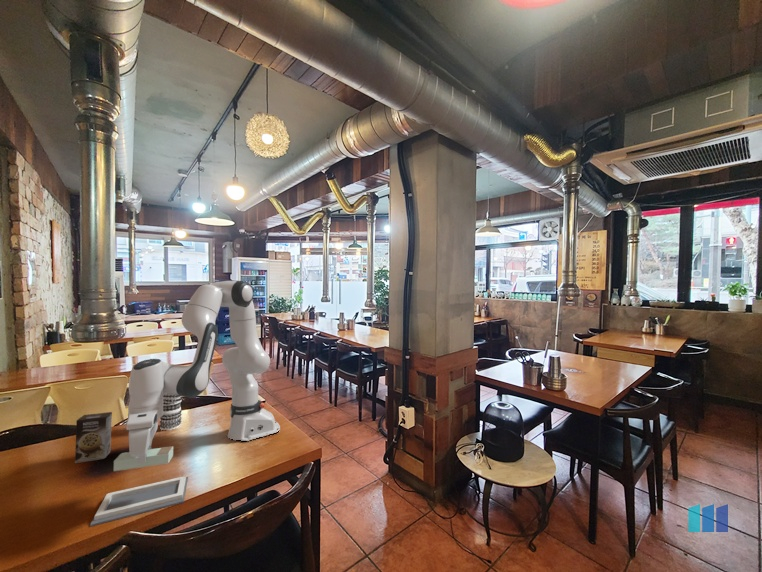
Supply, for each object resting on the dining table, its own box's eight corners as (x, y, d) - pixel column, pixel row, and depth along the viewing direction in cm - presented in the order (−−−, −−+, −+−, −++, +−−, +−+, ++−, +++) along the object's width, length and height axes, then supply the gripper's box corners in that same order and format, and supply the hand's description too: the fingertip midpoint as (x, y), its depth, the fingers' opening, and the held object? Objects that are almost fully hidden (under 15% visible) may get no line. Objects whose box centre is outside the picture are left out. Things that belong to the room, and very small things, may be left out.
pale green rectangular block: (121, 462, 98) (121, 452, 98) (173, 455, 102) (173, 445, 102) (113, 471, 93) (113, 460, 93) (168, 463, 98) (168, 453, 98)
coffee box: (74, 463, 117) (75, 420, 117) (82, 455, 123) (83, 414, 123) (104, 458, 121) (105, 417, 121) (111, 451, 126) (112, 411, 127)
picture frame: (187, 478, 109) (187, 473, 109) (183, 502, 96) (183, 497, 96) (106, 496, 99) (106, 491, 99) (90, 526, 86) (90, 520, 86)
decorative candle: (182, 421, 155) (183, 371, 156) (182, 428, 148) (183, 375, 148) (159, 425, 151) (161, 373, 151) (158, 432, 143) (159, 378, 143)
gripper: (141, 403, 106) (140, 444, 106) (124, 426, 88) (123, 476, 87) (163, 400, 109) (162, 440, 108) (152, 422, 91) (150, 471, 90)
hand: (144, 456), depth 98 cm, fingers closed on pale green rectangular block, 5 cm apart
